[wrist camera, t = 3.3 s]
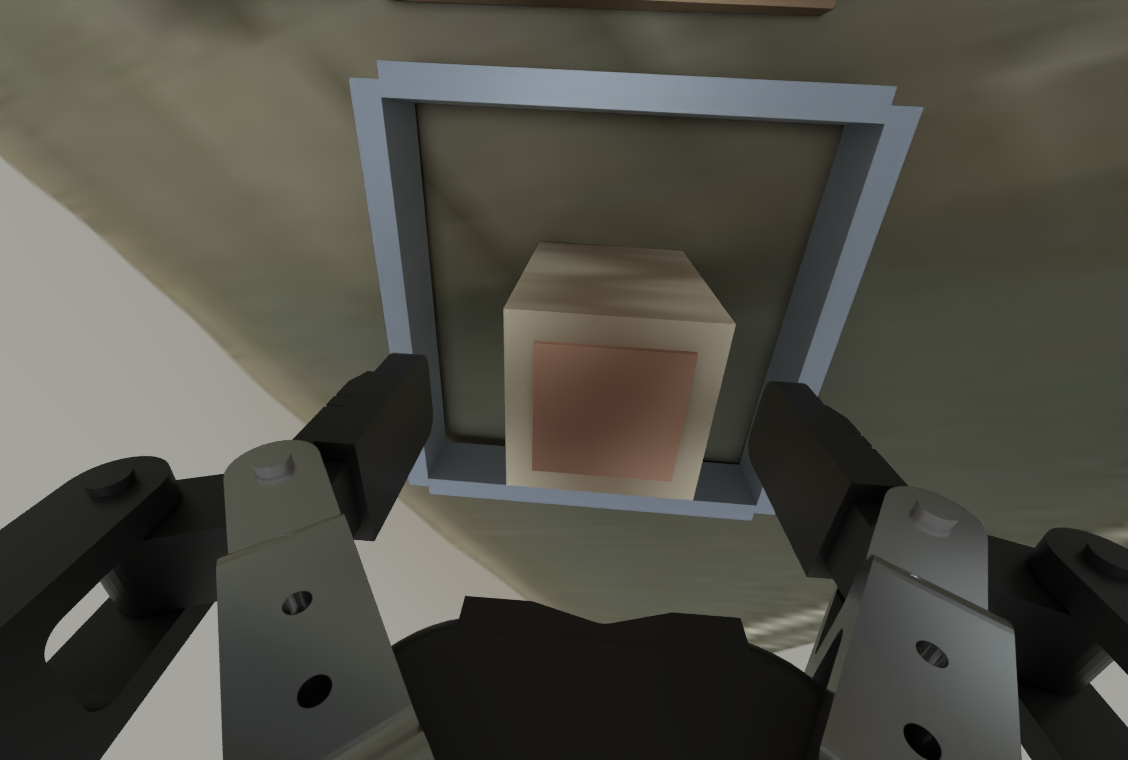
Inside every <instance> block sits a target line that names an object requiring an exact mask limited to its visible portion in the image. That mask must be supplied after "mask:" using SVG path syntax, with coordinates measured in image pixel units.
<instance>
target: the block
mask: <svg viewBox="0 0 1128 760" xmlns="http://www.w3.org/2000/svg"><path fill="white" fill-rule="evenodd" d="M503 316H504V375H505V435H506V485H510V486H522V487H535V488H547V489H559V490H571V491H583V492H596V493H608V494H620V495H632V496H645V497H657V498H669V499H681V500H693V498H694V494H695V490H696V486H697V482H698V478H699V474H700V470H701V466H702V462H703V458H704V453H705V449H706V445H707V441H708V437H709V433H710V429H711V425H712V421H713V417H714V412H715V408H716V404H717V400H718V396H719V392H720V388H721V384H722V380H723V376H724V371H725V367H726V363H727V359H728V355H729V351H730V347H731V343H732V339H733V335H734V330H735V326H736V324H735V322H734V321H733V320H732V318H731V317H730V316H729V314H728V313H727V311H726V310H725V309H724V307H723V306H722V305H721V303H720V302H719V300H718V299H717V298H716V296H715V295H714V293H713V292H712V291H711V289H710V288H709V287H708V285H707V284H706V282H705V281H704V280H703V278H702V277H701V276H700V274H699V273H698V271H697V270H696V269H695V267H694V266H693V264H692V263H691V262H690V260H689V259H688V258H687V256H686V255H685V253H684V252H683V251H673V250H659V249H646V248H632V247H617V246H601V245H585V244H569V243H553V242H539V244H538V246H537V247H536V249H535V251H534V253H533V255H532V257H531V259H530V260H529V262H528V264H527V266H526V268H525V270H524V271H523V273H522V275H521V277H520V279H519V281H518V283H517V284H516V286H515V288H514V290H513V292H512V294H511V295H510V297H509V299H508V301H507V303H506V305H505V307H504V308H503Z"/></svg>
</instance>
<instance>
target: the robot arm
mask: <svg viewBox="0 0 1128 760" xmlns="http://www.w3.org/2000/svg"><path fill="white" fill-rule="evenodd" d="M432 424H433V405H432V395H431V385H430V374H429V365H428V360H427V358H426V356H425V355H419V354H405V353H391V354H390V355H389V356H388V357H387V358H386V359H385V360H384V361H383V362H382V364H381V365H380V366H379V367H378V368H377V369H376V370H375V371H374V372H372V371H367V372H365V373H363V374H362V375H360V376H358V377H356V378H354V379H352V380H350V381H348V382H347V383H346V385H345V386H344V387H343V388H342V389H341V390H340V391H339V392H338V393H337V396H334V397H333V398H332V399H331V400H330V401H329V402H328V403H327V406H326V407H323V408H322V409H321V410H320V412H319V413H318V414H317V415H316V416H315V417H314V418H313V419H312V420H311V421H310V422H309V423H308V424H307V425H306V426H305V427H304V428H303V429H302V430H301V431H300V432H299V433H298V434H297V435H296V437H295V438H294V439H293V440H283V441H277V442H272V443H268V444H265V445H261V446H259V447H256V448H254V449H252V450H250V451H248V452H246V453H244V454H243V455H241V456H239V457H238V458H237V459H235V460H234V461H233V462H232V463H231V464H230V465H229V466H228V468H227V469H226V471H225V473H224V474H219V475H213V476H204V477H197V478H189V479H182V480H176V479H175V477H174V475H173V473H172V470H171V468H170V466H169V464H168V463H167V462H166V461H165V460H163V459H161V458H158V457H152V456H138V457H130V458H124V459H120V460H116V461H112V462H109V463H105V464H102V465H100V466H97V467H94V468H92V469H90V470H88V471H85V472H83V473H81V474H79V475H78V476H76V477H74V478H72V479H71V480H69V481H68V482H66V483H65V484H64V485H62V486H61V487H59V488H58V489H56V490H55V491H54V492H52V493H51V494H50V495H48V496H47V497H45V498H44V499H43V500H41V501H40V502H39V503H37V504H36V505H34V506H33V507H31V508H30V509H29V510H27V511H26V512H25V513H23V514H22V515H20V516H19V517H18V518H16V519H15V520H13V521H12V522H11V523H9V524H8V525H6V526H5V527H4V528H2V529H1V530H0V760H100V759H101V758H102V756H103V755H104V753H105V752H106V751H107V749H108V748H109V747H110V745H111V744H112V742H113V741H114V740H115V738H116V737H117V736H118V734H119V733H120V732H121V730H122V729H123V727H124V726H125V725H126V723H127V722H128V720H129V719H130V718H131V716H132V715H133V714H134V712H135V711H136V709H137V708H138V707H139V705H140V704H141V703H142V701H143V700H144V698H145V697H146V696H147V694H148V693H149V692H150V690H151V689H152V687H153V686H154V685H155V683H156V682H157V681H158V679H159V677H160V676H161V675H162V674H163V672H164V671H165V670H166V668H167V667H168V665H169V664H170V662H171V661H172V659H173V658H174V657H175V656H176V654H177V653H178V652H179V650H180V649H181V647H182V646H183V645H184V643H185V642H186V641H187V639H188V638H189V636H190V635H191V634H192V632H193V631H194V630H195V628H196V627H197V625H198V624H199V623H200V621H201V620H202V618H203V617H204V616H205V614H206V613H207V611H208V610H209V609H210V607H211V606H212V605H213V603H214V602H216V601H217V605H218V633H219V662H220V690H221V718H222V747H223V760H1022V757H1021V744H1022V746H1023V748H1024V749H1025V750H1026V752H1027V754H1028V755H1029V757H1030V758H1031V760H1128V727H1127V726H1126V725H1125V724H1124V722H1123V721H1122V720H1121V719H1120V718H1119V717H1118V715H1117V714H1116V713H1115V712H1114V711H1113V710H1112V708H1111V707H1110V706H1109V705H1108V704H1107V703H1106V701H1105V700H1104V699H1103V698H1102V697H1101V695H1100V694H1099V693H1098V692H1097V691H1096V690H1095V689H1094V687H1093V686H1092V685H1091V684H1090V682H1091V681H1092V680H1093V679H1094V678H1095V677H1096V676H1097V675H1098V674H1099V673H1101V672H1102V671H1103V670H1104V669H1105V668H1106V667H1107V666H1108V665H1109V664H1110V663H1112V662H1113V661H1115V662H1116V663H1117V664H1118V665H1119V666H1120V667H1121V668H1122V669H1123V670H1124V671H1125V673H1126V674H1128V549H1126V548H1125V547H1123V546H1121V545H1119V544H1117V543H1114V542H1112V541H1110V540H1108V539H1105V538H1103V537H1100V536H1097V535H1094V534H1091V533H1088V532H1085V531H1081V530H1077V529H1071V528H1054V529H1051V530H1049V531H1048V532H1047V533H1046V534H1045V536H1044V537H1043V538H1042V539H1041V541H1040V542H1039V543H1038V544H1037V546H1036V547H1035V548H1033V547H1029V546H1025V545H1022V544H1018V543H1015V542H1011V541H1008V540H1004V539H1000V538H997V537H993V536H990V535H987V532H986V530H985V528H984V527H983V525H982V524H981V522H980V521H979V520H978V519H977V518H976V517H975V516H974V515H972V514H971V513H970V512H969V511H967V510H966V509H965V508H963V507H962V506H960V505H959V504H957V503H955V502H954V501H952V500H950V499H948V498H946V497H944V496H942V495H939V494H937V493H934V492H931V491H928V490H925V489H921V488H916V487H910V486H908V485H907V484H906V483H905V482H904V481H903V480H902V478H901V477H900V476H899V475H898V474H897V473H896V472H895V471H894V470H893V468H892V467H891V466H890V465H889V464H888V463H887V462H886V461H885V460H884V459H883V457H882V456H881V455H880V454H879V453H878V452H877V451H876V450H875V449H872V445H871V444H870V443H869V442H868V441H867V440H866V439H865V437H864V436H861V433H860V432H859V431H858V430H857V429H856V427H855V426H854V425H853V424H852V423H851V422H850V421H849V420H848V419H847V418H846V417H844V416H843V415H841V414H839V413H838V412H836V411H835V410H833V409H832V408H830V407H829V406H826V405H824V404H823V403H822V401H821V400H820V399H819V398H818V397H817V396H816V394H815V393H814V392H813V391H812V390H811V389H810V387H809V386H808V385H807V384H805V383H795V382H781V381H770V382H768V383H767V384H766V386H765V388H764V390H763V393H762V397H761V400H760V403H759V406H758V410H757V413H756V416H755V419H754V422H753V426H752V429H751V432H750V436H749V441H748V453H749V459H750V462H751V464H752V466H753V468H754V470H755V472H756V474H757V476H758V478H759V480H760V482H761V484H762V486H763V488H764V490H765V492H766V494H767V497H768V499H769V501H770V503H771V505H772V507H773V509H774V511H775V513H776V515H777V517H778V519H779V521H780V523H781V525H782V527H783V529H784V531H785V533H786V535H787V537H788V539H789V541H790V543H791V545H792V548H793V550H794V552H795V554H796V556H797V558H798V560H799V562H800V564H801V566H802V568H803V570H804V572H805V574H806V576H807V577H815V578H827V579H834V581H835V583H836V585H837V588H836V590H835V591H834V593H833V595H832V597H831V599H830V602H829V605H828V608H827V611H826V613H825V616H824V619H823V622H822V625H821V627H820V630H819V633H818V636H817V639H816V642H815V644H814V647H813V650H812V653H811V656H810V658H809V661H808V664H807V667H806V670H805V672H803V671H801V670H800V669H798V668H797V667H795V666H794V665H793V664H791V663H789V662H788V661H786V660H784V659H782V658H780V657H779V656H777V655H775V654H773V653H771V652H769V651H767V650H765V649H762V648H760V647H758V646H756V645H753V644H750V643H748V641H747V638H746V635H745V632H744V628H743V625H742V622H741V619H740V618H734V617H721V616H709V615H696V614H684V613H667V614H661V615H656V616H650V617H644V618H638V619H633V620H627V621H621V622H616V623H610V624H600V623H596V622H593V621H590V620H587V619H584V618H581V617H578V616H575V615H572V614H569V613H566V612H563V611H560V610H557V609H554V608H551V607H548V606H545V605H542V604H539V603H536V602H533V601H522V600H508V599H497V598H484V597H471V596H465V599H464V602H463V606H462V610H461V614H460V617H459V619H455V620H449V621H445V622H442V623H439V624H435V625H432V626H429V627H427V628H425V629H422V630H420V631H417V632H415V633H413V634H411V635H409V636H407V637H406V638H404V639H402V640H400V641H398V642H397V643H395V644H394V645H392V646H391V644H390V641H389V639H388V636H387V633H386V630H385V627H384V625H383V622H382V619H381V616H380V613H379V610H378V608H377V605H376V602H375V599H374V596H373V593H372V591H371V588H370V585H369V583H368V579H367V576H366V574H365V571H364V569H363V565H362V563H361V560H360V557H359V554H358V551H357V548H356V545H355V543H354V540H365V541H375V539H376V537H377V535H378V533H379V531H380V530H381V527H382V526H383V524H384V522H385V520H386V518H387V516H388V514H389V512H390V510H391V508H392V507H393V505H394V503H395V501H396V499H397V497H398V495H399V493H400V491H401V489H402V488H403V486H404V484H405V482H406V480H407V478H408V476H409V474H410V472H411V470H412V468H413V467H414V465H415V463H416V461H417V459H418V457H419V455H420V453H421V451H422V449H423V447H424V446H425V444H426V442H427V440H428V438H429V436H430V433H431V429H432ZM99 582H101V583H102V585H103V587H104V588H105V590H106V591H107V593H108V595H109V596H110V597H109V598H108V599H107V600H106V601H105V602H104V603H103V604H102V605H101V607H100V608H99V609H98V610H97V611H96V612H95V613H94V614H93V615H92V616H91V617H90V618H89V619H88V620H87V621H86V622H85V623H84V624H83V625H82V626H81V628H79V629H78V630H77V631H76V633H75V634H74V635H73V636H72V637H71V638H70V639H69V640H68V641H67V642H66V643H65V644H64V645H63V646H62V647H61V648H60V650H58V652H56V654H54V655H53V657H52V658H51V659H50V660H49V661H48V662H47V663H46V662H45V658H44V652H45V646H46V643H47V640H48V638H49V636H50V634H51V632H52V630H53V629H54V628H55V626H56V625H57V624H58V622H59V621H60V620H61V619H62V618H63V617H64V616H65V615H66V614H67V613H68V612H69V611H70V610H71V609H72V608H73V607H74V606H75V605H76V604H77V603H78V602H79V601H80V600H81V599H82V598H83V597H84V596H85V595H86V594H87V593H88V592H89V591H90V590H91V589H92V588H94V587H95V585H96V584H97V583H99Z"/></svg>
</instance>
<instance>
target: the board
mask: <svg viewBox="0 0 1128 760" xmlns="http://www.w3.org/2000/svg"><path fill="white" fill-rule="evenodd" d="M403 1H426V2H448V3H470V4H492V5H514V6H537V7H566V8H596V9H625V10H655V11H685V12H715V13H744V14H774V15H804V16H821V15H823V14H825V13H827V12H829V11H830V10H832V9H834V7H835V3H836V0H403Z"/></svg>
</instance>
